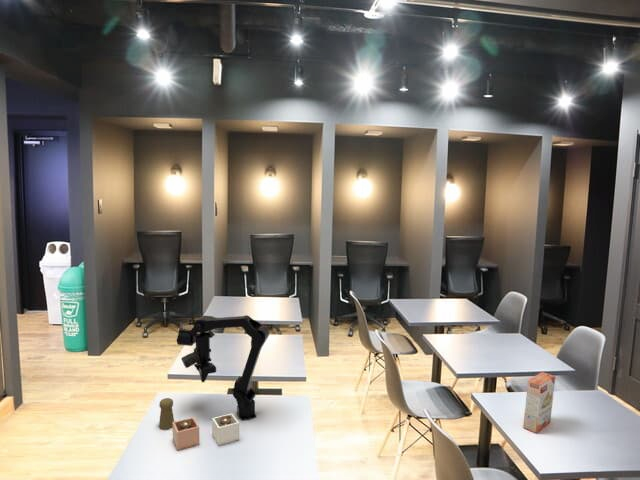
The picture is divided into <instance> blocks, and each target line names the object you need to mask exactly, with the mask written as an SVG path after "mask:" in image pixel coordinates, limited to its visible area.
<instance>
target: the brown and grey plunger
mask: <svg viewBox="0 0 640 480" xmlns="http://www.w3.org/2000/svg"><path fill="white" fill-rule="evenodd" d="M181 420H182V421H181V422H180V428H181V429H184V430H186V429H188V428H190V427H191V420H184V419H181Z"/></svg>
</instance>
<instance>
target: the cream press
mask: <svg viewBox="0 0 640 480" xmlns="http://www.w3.org/2000/svg"><path fill="white" fill-rule="evenodd" d="M222 416H230V417H231V423H230V424H228V425H225V426H224V425H222V424H220V418H221V417H222ZM211 422H212V423H211V427H212V429H211V435H212V437H213V439H214V441H215V443H216V444H217V446H218V447H219V446H223V445H226V444H231V443H234V442H239V441H240V422H239V420H238V419H237V418H236V416H235V415H234V413H228V414H223V415H220V416H216V417H212V418H211Z"/></svg>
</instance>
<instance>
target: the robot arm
mask: <svg viewBox="0 0 640 480" xmlns="http://www.w3.org/2000/svg"><path fill="white" fill-rule="evenodd" d="M229 328H242V329H243V330H244V332H245V333H246V334H247V335H248V337H250V339H251V340H250V350H249V354H248V357H247V360H246V363H245V366H244V368H243V372H242V375H241V376H238V378H237V379H236V380H235V381H234V386H233V389H232V390H231V391H232V396H233V398H234V399H235V401H236V403H237V405H236V415H237V417H238V418H240V420H241V421H246V420H249V419H253V418H257V414H256V412H255V411H256V401H255V398H256V395H257V392H256V391H255V390H254V389H253V388H252V385H253V384H252V383H253V381H252V378H253V374H254V371H255V368H256V365H257V363H258V360H259V356H260V355H261V354H260V353H261V351H262V349H263V346H264V345H265V343H266V342H267V340H268V338H269V336H270V329H269V328H268V327H267V326H266V325H263V324H261V322H259V321H257V320H255V319H253V318H252V317H250V315H247V314H245V315H241V316H225V317H224V316H222V317H215V316H212V315H211V316H210V315H201V316H200V317H199V318H198V319H196V320H195V321H194V323H193V327H192V328H191V329H187V328H181V329H178V334H177V338H176V343H177V345H178V346H185V347H186V346H188V347H192V346H194V344H195V347H194V349H193V351H192V352H190V353H188V354H185V355H184V356H182V357H181V359H180V360H181V361H182V364H183V366H184V367H185V368H186V369H188V368H190V367H192V366H194V367H195V369H196V370H197V371H198V373H199V377H200V381H201V383H205V382H206V380H207V378H208V375H210V374H215V373H217V366H216V365H215V364H214V363H212V358H211V353H212V349H211V346H210V341H211V340H210V339H212V338H213V337H214V336H215V335H216V334H215V333H214V332H213V331H212V330H216V329H217V330H218V329H229Z"/></svg>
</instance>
